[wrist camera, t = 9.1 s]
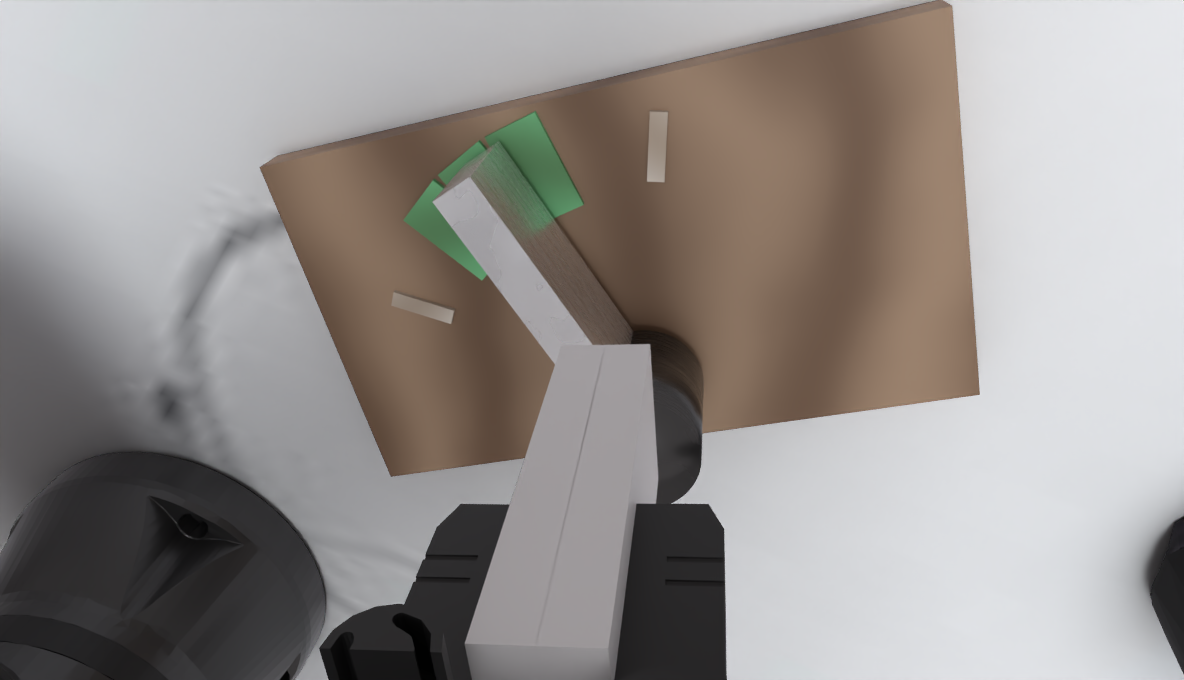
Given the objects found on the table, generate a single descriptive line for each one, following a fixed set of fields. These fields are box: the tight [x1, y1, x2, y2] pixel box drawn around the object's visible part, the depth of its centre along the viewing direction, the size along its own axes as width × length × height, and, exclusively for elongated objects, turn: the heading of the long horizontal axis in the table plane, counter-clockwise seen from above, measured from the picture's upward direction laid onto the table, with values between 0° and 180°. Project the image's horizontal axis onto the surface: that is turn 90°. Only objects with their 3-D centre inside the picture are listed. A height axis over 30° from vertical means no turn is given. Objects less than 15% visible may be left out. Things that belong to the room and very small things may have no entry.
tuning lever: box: [433, 141, 704, 504], centre depth 30 cm, size 13×4×5 cm, turn 34°
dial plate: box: [260, 0, 980, 477], centre depth 33 cm, size 24×14×2 cm, turn 104°
